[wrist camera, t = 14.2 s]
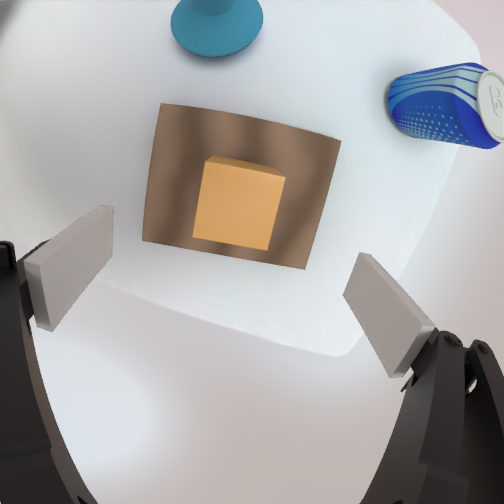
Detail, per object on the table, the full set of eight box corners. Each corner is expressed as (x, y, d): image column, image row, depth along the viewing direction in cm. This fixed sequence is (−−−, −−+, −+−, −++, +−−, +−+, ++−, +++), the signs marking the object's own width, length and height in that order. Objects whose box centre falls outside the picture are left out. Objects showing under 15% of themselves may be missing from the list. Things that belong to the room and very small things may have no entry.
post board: (146, 234, 34) (121, 266, 26) (165, 105, 28) (140, 95, 20) (301, 262, 37) (318, 300, 28) (335, 140, 30) (368, 144, 22)
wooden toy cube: (201, 214, 30) (192, 237, 24) (212, 155, 28) (205, 161, 21) (260, 225, 31) (267, 250, 25) (274, 167, 29) (285, 177, 22)
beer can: (439, 99, 28) (526, 101, 13) (421, 148, 31) (510, 170, 16) (394, 64, 26) (479, 41, 12) (373, 116, 29) (461, 115, 15)
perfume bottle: (164, 48, 25) (116, -2, 11) (206, -8, 22) (190, -79, 8) (233, 79, 27) (230, 35, 14) (274, 21, 24) (299, -45, 11)
